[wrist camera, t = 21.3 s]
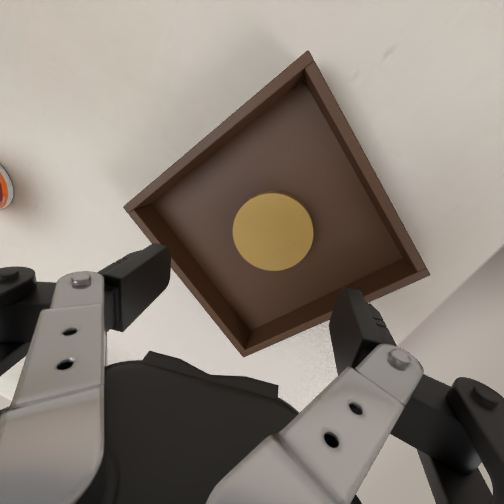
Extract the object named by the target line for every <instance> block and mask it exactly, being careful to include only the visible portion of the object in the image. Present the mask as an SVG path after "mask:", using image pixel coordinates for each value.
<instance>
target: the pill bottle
mask: <svg viewBox="0 0 504 504" xmlns="http://www.w3.org/2000/svg"><path fill="white" fill-rule="evenodd" d="M12 199H13V186H12V183H11V180H10V178H9V176H8V175H7V173H6V171H5V170H4V169H3V168H2V166H1V165H0V209H3V208H5V207H7V206H8V205H9V204H10V203H11V201H12Z"/></svg>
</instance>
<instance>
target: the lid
mask: <svg viewBox="0 0 504 504" xmlns="http://www.w3.org/2000/svg"><path fill="white" fill-rule="evenodd" d="M233 239H234V243H235V245H236V248H237V250H238V251H239V253H240V254H241V256H242V257H243V258H244V259H245V260H246V261H248V262H249V263H250V264H252V265H253V266H255V267H258V268H260V269H263V270H268V271H279V270H284V269H288V268H290V267H292V266H294V265H296V264H297V263H299V262H300V261H301V260H302V259H303V258H304V257H305V256H306V254H307V253H308V251H309V249H310V247H311V245H312V241H313V225H312V220H311V216H310V214H309V212H308V210H307V208H306V207H305V205H304V204H303V203H302V202H301V201H300V200H299V199H298V198H296V197H295V196H293V195H291V194H289V193H286V192H282V191H266V192H262V193H259V194H257V195H255V196H251V197H250V198H249V200H248V201H247V202H246V203H245V204H244V205H243V206H242V207H241V208H240V210H239V211H238V213H237V215H236V217H235V220H234V223H233Z"/></svg>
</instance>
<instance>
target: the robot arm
mask: <svg viewBox="0 0 504 504" xmlns="http://www.w3.org/2000/svg"><path fill="white" fill-rule="evenodd" d="M170 270H171V248H170V247H169V246H164V245H160V244H156V243H153V244H152V245H150V246H148V247H147V248H145V249H143V250H140V251H137V252H133V253H130V254H128V255H126V256H125V257H123V258H122V259H119V260H118V261H116V263H115V262H114V263H113V264H111V265H109V266H107V267H106V268H104V269H102V270H101V271H99V272H97V273H96V272H90V271H82V272H74V273H70V274H67V275H65V276H63V277H61V278H60V279H59V280H58V281H57V283H52V282H36V277H35V272H34V270H32V269H30V268H27V267H5V268H0V376H1V375H2V374H4V373H5V372H6V371H7V370H9V369H10V368H11V367H12V366H14V365H15V364H16V363H17V362H19V361H20V360H21V359H22V358H24V357H25V356H26V355H27V356H26V359H25V362H24V366H23V369H22V372H21V375H20V378H19V381H18V384H17V388H16V391H15V394H14V397H13V400H12V403H11V405H10V406H9V407H7V408H5V409H2V410H0V504H362V503H361V501H360V500H359V498H358V497H357V495H356V493H357V491H358V489H359V487H360V486H361V484H362V482H363V480H364V478H365V477H366V475H367V473H368V471H369V470H370V467H371V466H372V464H373V462H374V461H375V459H376V457H377V455H378V454H379V452H380V450H381V448H382V447H383V445H384V443H385V441H386V439H387V438H388V435H389V434H392V435H393V436H395V437H397V438H399V439H401V440H402V441H404V442H406V443H408V444H409V445H411V446H413V447H415V448H416V449H417V451H418V454H419V457H420V459H421V462H422V465H423V468H424V471H425V474H426V476H427V479H428V482H429V485H430V488H431V491H432V493H433V496H434V499H435V502H436V504H504V398H503V397H502V396H501V395H500V394H498V393H497V392H496V391H494V390H493V389H491V388H489V387H488V386H486V385H484V384H482V383H480V382H478V381H476V380H473V379H470V378H465V377H460V378H457V379H456V380H455V382H454V383H453V385H452V386H451V387H450V386H448V385H446V384H444V383H441V382H439V381H437V380H435V379H433V378H431V377H428V376H426V375H424V374H423V373H424V370H423V367H422V365H421V364H420V362H419V361H418V360H417V359H416V358H415V357H414V356H412V355H411V354H410V353H409V352H407V351H405V350H404V349H401V348H399V347H397V345H396V343H395V342H394V340H393V338H392V336H391V334H390V332H389V330H388V328H386V327H387V326H386V324H385V322H384V321H383V319H382V317H381V315H380V313H379V312H378V311H377V310H376V309H375V308H374V307H373V306H372V305H371V304H368V303H366V302H365V299H364V297H363V295H362V293H361V291H360V290H356V289H351V288H347V287H342V288H341V289H340V291H339V294H338V297H337V300H336V303H335V306H334V309H333V311H332V314H331V318H330V323H329V330H330V335H331V341H332V346H333V352H334V357H335V362H336V368H337V373H338V376H337V377H336V378H335V379H334V380H333V381H332V382H331V383H330V384H329V385H328V386H327V387H326V388H325V389H324V390H323V391H322V392H321V393H320V394H319V395H318V396H317V397H316V398H315V399H314V400H313V401H312V402H311V403H310V404H309V405H307V406H306V407H305V408H304V409H303V410H302V411H301V412H300V413H299V412H298V411H297V410H296V409H295V408H293V407H292V406H291V405H290V404H288V403H287V402H285V401H284V400H282V399H280V398H278V385H275V384H272V383H268V382H264V381H260V380H257V379H253V378H249V377H244V376H223V375H210V374H207V373H205V372H203V371H201V370H200V369H198V368H196V367H194V366H192V365H190V364H188V363H187V362H185V361H183V360H181V359H178V358H175V357H171V356H167V355H163V354H160V353H156V352H152V351H149V352H148V353H147V355H146V356H145V357H144V359H143V360H136V361H125V362H119V363H115V364H111V365H108V366H107V332H108V331H109V330H110V329H113V330H116V331H120V332H123V331H124V330H125V329H126V328H127V327H128V326H129V325H130V324H131V323H132V322H133V321H134V320H135V319H136V318H137V317H138V316H139V315H140V314H141V313H142V312H143V311H144V310H145V309H146V308H147V307H148V306H149V305H150V304H151V303H152V302H153V301H154V300H155V299H156V298H157V297H158V296H159V295H160V294H161V293H162V292H163V291H164V290H165V289H166V287H167V286H168V283H169V280H170ZM481 462H482V463H483V464H484V467H485V468H486V470H487V472H488V474H489V476H490V478H491V482H492V486H493V496H492V494H491V492H490V490H489V488H488V486H487V484H486V483H485V480H484V479H483V477H482V475H481V473H480V471H479V469H478V466H479V465H480V463H481Z"/></svg>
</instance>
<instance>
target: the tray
mask: <svg viewBox="0 0 504 504" xmlns="http://www.w3.org/2000/svg"><path fill="white" fill-rule="evenodd" d="M266 191H282V192H286V193H289V194H291V195H293V196H295V197H296V198H298V199H299V200H300V201H301V202H302V203H303V204H304V205H305V207H306V208H307V210H308V212H309V214H310V216H311V220H312V225H313V241H312V245H311V247H310V249H309V251H308V253H307V254H306V256H305V257H304V258H303V259H302V260H301V261H300V262H299V263H297V264H296V265H294V266H292V267H290V268H288V269H284V270H279V271H268V270H263V269H260V268H258V267H255V266H253V265H252V264H250V263H249V262H248V261H246V260H245V259H244V258H243V257H242V256H241V254H240V253H239V251H238V250H237V248H236V245H235V243H234V239H233V223H234V220H235V217H236V215H237V213H238V211H239V210H240V208H241V207H242V206H243V205H244V204H245V203H246V202H247V201H248V200H249V198H250V197H251V196H255V195H257V194H259V193H262V192H266ZM123 208H124V209H125V210H126V212H127V213H129V215H130V217H131V218H132V219H133V220H134V222H135V223H136V224H137V225H138V227H139V228H140V229H141V230H142V232H143V233H144V234H145V235H146V237H147V238H148V239H149V240H150V242H151V243H152V244H153V243H156V244H160V245H164V246H169V247H170V248H171V268H172V269H173V270H174V272H175V273H176V274H177V275H178V277H179V278H180V279H181V280H182V282H183V283H184V284H185V285H186V287H187V288H188V289H189V290H190V292H191V293H192V294H193V295H194V297H195V298H196V299H197V300H198V302H199V303H200V304H201V305H202V306H203V308H204V309H205V310H206V311H207V313H208V314H209V315H210V316H211V318H212V319H213V320H214V321H215V323H216V324H217V325H218V326H219V328H220V329H221V330H222V331H223V333H224V334H225V335H226V336H227V338H228V339H229V340H230V341H231V343H232V344H233V345H234V346H235V348H236V349H237V350H238V351H239V352H240V354H241V355H242V356H243V357H246V356H248V355H250V354H253V353H255V352H257V351H259V350H262V349H264V348H266V347H268V346H271V345H273V344H275V343H277V342H280V341H282V340H284V339H287V338H289V337H291V336H293V335H296V334H298V333H300V332H302V331H305V330H307V329H309V328H311V327H314V326H316V325H318V324H321V323H323V322H325V321H327V320H330V318H331V314H332V311H333V309H334V306H335V303H336V300H337V297H338V294H339V291H340V289H341V288H342V287H347V288H351V289H356V290H360V291H361V293H362V295H363V297H364V299H365V302H366V303H368V302H370V301H373V300H375V299H377V298H380V297H382V296H384V295H386V294H389V293H391V292H393V291H395V290H398V289H400V288H402V287H404V286H407V285H409V284H411V283H414V282H416V281H418V280H420V279H423V278H425V277H427V276H429V275H430V273H429V271H428V269H427V268H426V266H425V264H424V262H423V260H422V258H421V256H420V255H419V253H418V251H417V249H416V247H415V245H414V244H413V242H412V240H411V238H410V236H409V234H408V232H407V231H406V229H405V227H404V225H403V223H402V221H401V220H400V218H399V216H398V214H397V212H396V210H395V209H394V207H393V205H392V203H391V201H390V199H389V197H388V196H387V194H386V192H385V190H384V188H383V186H382V185H381V183H380V181H379V179H378V177H377V175H376V173H375V172H374V170H373V168H372V166H371V164H370V162H369V161H368V159H367V157H366V155H365V153H364V151H363V149H362V148H361V146H360V144H359V142H358V140H357V138H356V137H355V135H354V133H353V131H352V129H351V127H350V126H349V124H348V122H347V120H346V118H345V116H344V114H343V113H342V111H341V109H340V107H339V105H338V103H337V102H336V100H335V98H334V96H333V94H332V92H331V90H330V89H329V87H328V85H327V83H326V81H325V79H324V78H323V76H322V74H321V72H320V70H319V68H318V67H317V65H316V63H315V61H314V59H313V57H312V56H311V54H310V52H309V51H306V52H305V53H304V54H303V55H302V56H300V57H299V58H298V59H297V60H296V61H294V62H293V63H292V64H291V65H290V66H289V67H287V68H286V69H285V70H284V71H283V72H282V73H280V74H279V75H278V76H277V77H276V78H274V79H273V80H272V81H271V82H270V83H269V84H267V85H266V86H265V87H264V88H263V89H261V90H260V91H259V92H258V93H257V94H256V95H254V96H253V97H252V98H251V99H250V100H249V101H247V102H246V103H245V104H244V105H243V106H241V107H240V108H239V109H238V110H237V111H236V112H234V113H233V114H232V115H231V116H230V117H228V118H227V119H226V120H225V121H224V122H223V123H221V124H220V125H219V126H218V127H217V128H216V129H214V130H213V131H212V132H211V133H210V134H208V135H207V136H206V137H205V138H204V139H203V140H201V141H200V142H199V143H198V144H197V145H195V146H194V147H193V148H192V149H191V150H190V151H188V152H187V153H186V154H185V155H184V156H183V157H181V158H180V159H179V160H178V161H177V162H175V163H174V164H173V165H172V166H171V167H170V168H168V169H167V170H166V171H165V172H164V173H162V174H161V175H160V176H159V177H158V178H157V179H155V180H154V181H153V182H152V183H151V184H150V185H148V186H147V187H146V188H145V189H144V190H142V191H141V192H140V193H139V194H138V195H137V196H135V197H134V198H133V199H132V200H131V201H129V202H128V203H127V204H126V205H125V206H124V207H123Z"/></svg>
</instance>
